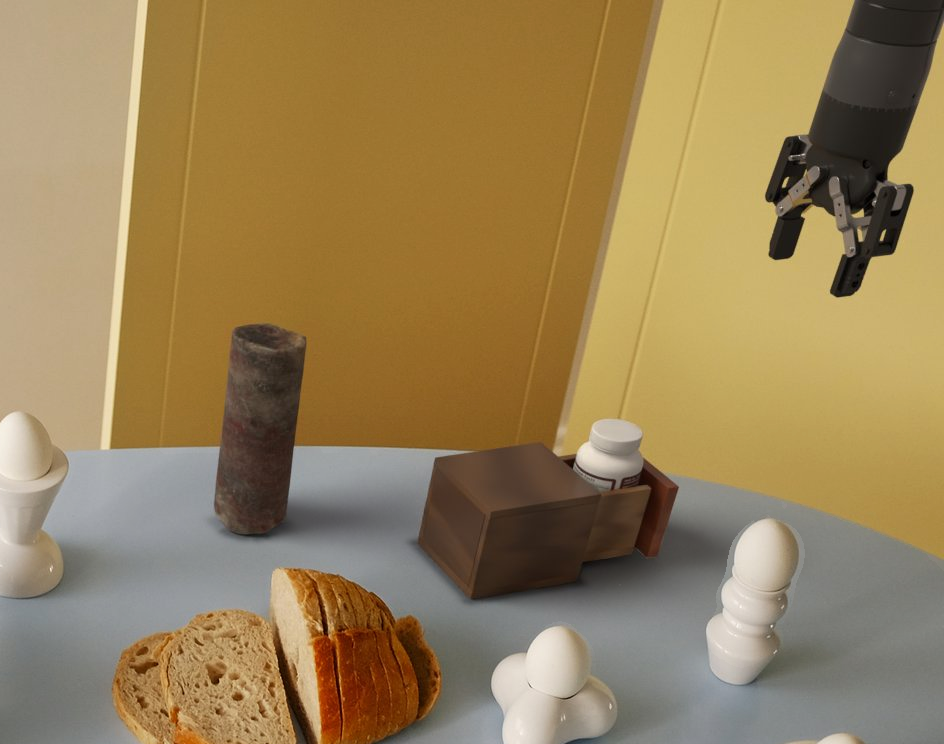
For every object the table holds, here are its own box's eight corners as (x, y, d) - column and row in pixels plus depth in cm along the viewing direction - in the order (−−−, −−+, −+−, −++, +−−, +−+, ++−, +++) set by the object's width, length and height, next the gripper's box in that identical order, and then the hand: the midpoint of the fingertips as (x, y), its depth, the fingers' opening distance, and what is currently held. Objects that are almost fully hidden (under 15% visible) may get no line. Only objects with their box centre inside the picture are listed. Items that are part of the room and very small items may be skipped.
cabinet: (519, 526, 178) (541, 441, 172) (577, 581, 170) (601, 494, 164) (416, 543, 175) (434, 457, 169) (470, 599, 167) (491, 511, 161)
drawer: (614, 508, 179) (633, 439, 174) (668, 555, 172) (690, 484, 167) (512, 524, 176) (529, 454, 171) (563, 572, 169) (582, 501, 164)
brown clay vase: (198, 506, 180) (219, 322, 168) (261, 493, 182) (286, 311, 170) (234, 542, 175) (258, 355, 162) (298, 529, 177) (327, 343, 164)
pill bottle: (609, 513, 176) (638, 413, 169) (633, 545, 171) (663, 444, 164) (549, 515, 176) (575, 415, 169) (570, 548, 171) (598, 446, 164)
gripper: (970, 113, 142) (899, 303, 153) (853, 60, 153) (794, 241, 163) (892, 122, 141) (826, 313, 151) (779, 67, 151) (724, 250, 162)
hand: (809, 276), depth 157 cm, fingers open, 8 cm apart
